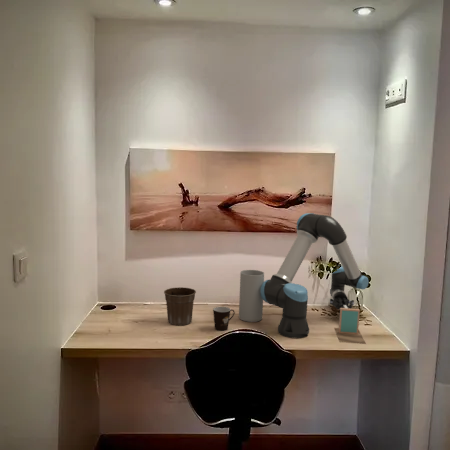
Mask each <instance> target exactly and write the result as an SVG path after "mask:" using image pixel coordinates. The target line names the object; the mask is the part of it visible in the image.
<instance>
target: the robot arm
mask: <svg viewBox="0 0 450 450" xmlns="http://www.w3.org/2000/svg"><path fill="white" fill-rule="evenodd" d="M296 235H297V236H296V237H295V240H294V242H293V244H292V246H291V247H290V249H289V251H288V253H287V254H286V256H285V258H284V259H283V262H282V263H281V265H280V267H279V268H278V271H277V272H276V273H274V274H272V276H271V277H270V279H266V280H264V282H263V284H262V286H261V291H260V292H261V297H262V299H263V302H266V303H267V304H269V305H272V306H275V307H277V308H280V309H282V317H281V319H280V322H279V324H278V328H277V333H278V334H280V335H281V336H283V337H286V338H291V339H302V338H303V339H304V338H307V337H308V336H309V333H310V326H309V324H308V321H307V320H308V319H307V314H308V313H307V312H308V299H309V296H308V295H309V294H308V293H309V292H308V289H307V287H305V286H303V285H301V284H297V283H293V280H294V278H295V277H296V274H297V272H298V271H299V269H300V267H301V265H302V263H303V261H304V260H305V257H306V256H307V254H308V251H309V250H310V248H311V247H312V245H313V244H316V243H317V241H318V240H319V238H322V239H325V240H327V241H328V243H329V245H331V246H332V247H333V250H334V253H335V254H336V256H337V258H338V261H339V263H340V266H341V267H340V268H339V269H337V271H335V272H333V273H332V272H331V283H330V288H331V289H329V294H330V296H331V298H330V299H329V304H330V305H332V306H333V307H335V309H337V310H340V308H349V309H353V306H354V305H355V300H353V299H352V300H350V299H349V298H348V296H347V294H346V293H345V287H346V286H348V287H351V288H353V289H354V288H355V289H356V290H366V289H367V288H368V285H369V278H368V277H367V276H365V275H362V272H361V271H360V268H359V266H358V264H357V262H356V261H357V260H356V259H355V257H354V255H353V253H352V251H351V248H350V245H349V243H348V241H347V236H348V235H347V233H346V231H345V230H344V228H343V227H342V225H341V224H340V223H339V222H338V220H336V219H335V218H334V217H332V216H330V215H328V214H327V215H325V214H318V213H312V212H310V213H307V212H306V213H303V214H302V215H300V216H299V218H298V219H297V221H296Z"/></svg>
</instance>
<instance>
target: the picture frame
mask: <svg viewBox="0 0 450 450" xmlns="http://www.w3.org/2000/svg"><path fill="white" fill-rule="evenodd" d="M360 312H361V311H360V309H359V308H352V309H349V308H339V319H338V321H339V323H338V328H339V333H349V334H358V329H359V325H360Z"/></svg>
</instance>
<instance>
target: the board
mask: <svg viewBox="0 0 450 450" xmlns="http://www.w3.org/2000/svg"><path fill="white" fill-rule="evenodd" d="M333 329H334V331H335V333H336V336H337V337H336V338H337V339H338V342H339V343H348V344H361V345H362V344H364V345H367V343H366V340H365V338H364V336H363V335H362V333H361V331H360V329H359V328H358V334H349V333H339V327H333Z"/></svg>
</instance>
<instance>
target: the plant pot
mask: <svg viewBox="0 0 450 450" xmlns="http://www.w3.org/2000/svg"><path fill="white" fill-rule="evenodd" d="M196 293H197V290H195V289H194V288H190V287H171V288H166V289H165V290H164V291H163V294H164V299H165V303H166V314H167V323H168V324H170V325H172V326H179V325H181V326H187V325H189V324H191V323H192V321H193V311H194V301H195V297H196V296H195V295H196Z"/></svg>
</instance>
